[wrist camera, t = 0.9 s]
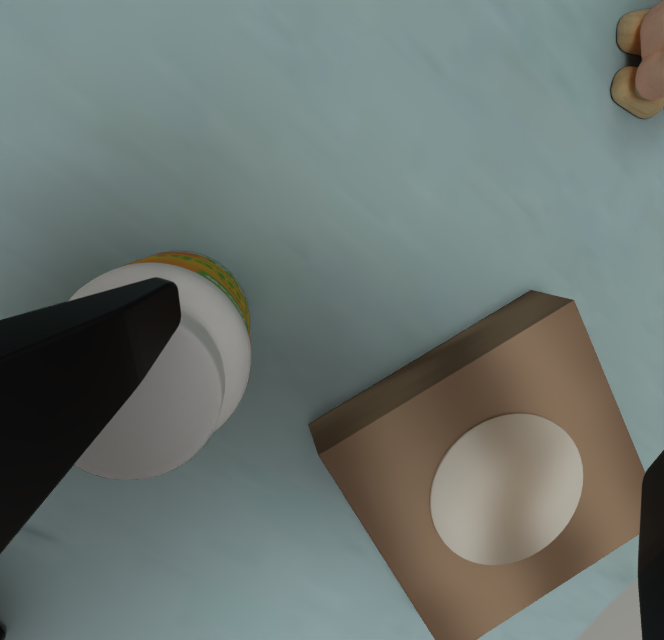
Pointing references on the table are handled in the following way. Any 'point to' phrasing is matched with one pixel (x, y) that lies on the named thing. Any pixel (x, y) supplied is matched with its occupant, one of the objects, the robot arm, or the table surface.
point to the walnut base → (489, 466)
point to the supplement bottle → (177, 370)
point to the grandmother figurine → (653, 72)
